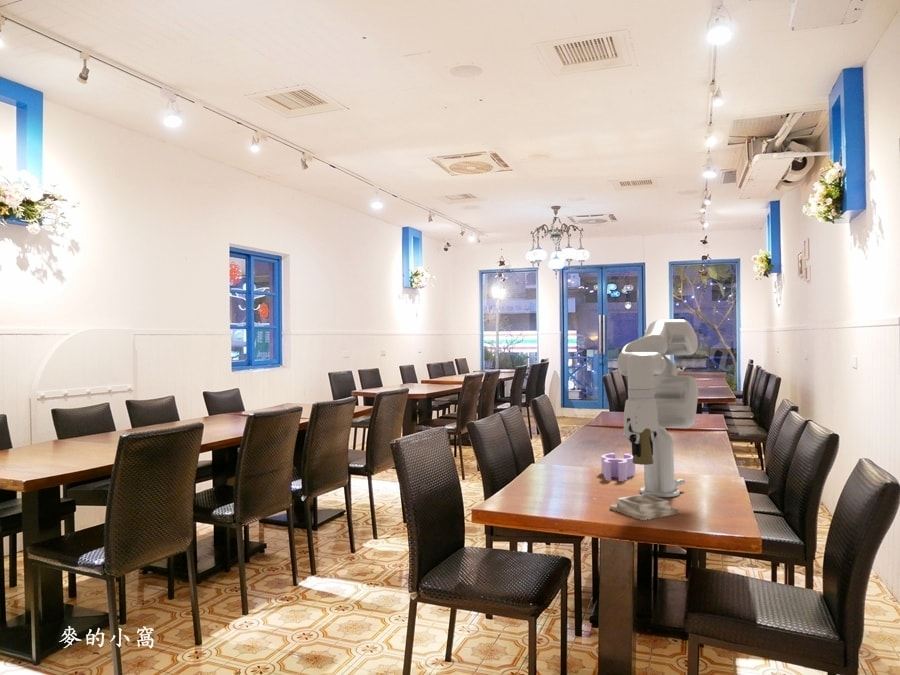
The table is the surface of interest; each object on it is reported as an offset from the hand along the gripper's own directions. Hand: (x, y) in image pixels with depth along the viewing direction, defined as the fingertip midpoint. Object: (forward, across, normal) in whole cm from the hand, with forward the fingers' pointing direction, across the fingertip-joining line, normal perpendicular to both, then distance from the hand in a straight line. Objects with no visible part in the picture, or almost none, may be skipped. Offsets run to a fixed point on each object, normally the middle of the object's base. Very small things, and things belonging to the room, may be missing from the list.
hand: (642, 454), depth 192 cm
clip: (+18, -26, -42) cm, 53 cm away
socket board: (+17, 0, 0) cm, 17 cm away
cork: (+2, 0, 0) cm, 2 cm away
